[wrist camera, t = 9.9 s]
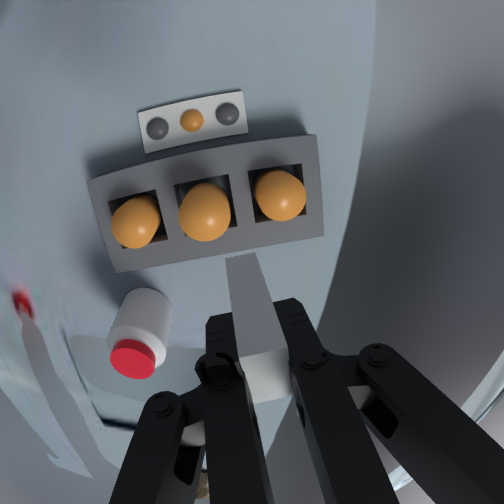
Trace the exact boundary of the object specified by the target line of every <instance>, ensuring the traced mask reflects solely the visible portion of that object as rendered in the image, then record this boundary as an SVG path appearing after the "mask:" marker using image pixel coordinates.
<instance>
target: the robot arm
mask: <svg viewBox="0 0 504 504" xmlns="http://www.w3.org/2000/svg"><path fill="white" fill-rule="evenodd" d="M225 260H226V269H227V277H228V285H229V292H230V300H231V307H232V312H230V313H225V314H220V315H215V316H210V318H209V320H208V322H207V323H206V325H205V327H206V354H204V355H203V356H201V357H200V358H199V360H198V361H197V362H196V365H195V371H196V373H197V375H198V377H199V379H200V381H201V384H200V385H199V386H198V387H197V388H195V389H193V390H191V391H189V392H187V393H184V394H182V395H180V396H178V395H176V394H175V393H173V392H170V391H163V392H159V393H157V394H154V395H153V396H151V397H150V398H149V399H148V400H147V402H146V404H145V406H144V408H143V411H142V413H141V416H140V418H139V421H138V423H137V426H136V429H135V431H134V434H133V437H132V439H131V442H130V445H129V447H128V450H127V453H126V456H125V458H124V461H123V464H122V467H121V469H120V473H119V475H118V478H117V481H116V484H115V487H114V490H113V493H112V496H111V499H110V502H109V504H194V501H195V496H196V492H197V487H198V482H199V478H200V473H201V469H202V464H203V459H204V455H205V450H206V464H207V476H208V487H209V498H210V504H275V503H274V498H273V494H272V489H271V485H270V480H269V476H268V471H267V466H266V461H265V456H264V451H263V446H262V442H261V437H260V432H259V427H258V421H257V416H256V414H255V411H254V406H253V404H255V403H260V402H265V401H270V400H274V399H279V398H283V397H287V396H291V395H293V393H294V397H295V400H296V409H297V417H299V418H300V421H301V425H302V428H303V431H304V435H305V438H306V441H307V444H308V448H309V451H310V454H311V457H312V461H313V464H314V467H315V470H316V473H317V477H318V480H319V484H320V487H321V490H322V493H323V497H324V500H325V503H326V504H399V501H398V499H397V497H396V494H395V492H394V489H393V487H392V484H391V482H390V480H389V477H388V475H387V473H386V471H385V468H384V466H383V464H382V461H381V459H380V457H379V455H378V453H377V450H376V448H375V446H374V444H373V441H372V439H371V437H370V435H369V432H368V431H367V428H366V426H365V424H366V425H367V426H368V428H369V429H370V430H371V431H372V432H373V434H374V435H375V436H376V437H377V438H378V439H379V441H381V443H382V444H383V445H384V446H385V447H386V449H387V450H388V451H389V452H390V453H391V454H392V455H393V457H394V458H395V459H396V460H397V461H398V462H399V463H400V465H401V466H402V467H403V468H404V469H405V470H406V471H407V473H408V474H409V475H410V476H411V477H412V478H413V479H414V480H415V481H416V483H417V484H418V485H419V486H420V487H421V488H422V489H423V490H424V491H425V493H426V494H427V495H428V496H429V497H430V498H431V499H432V500H433V501H434V502H435V504H504V449H503V448H502V447H501V446H500V445H499V444H498V443H497V442H495V440H493V439H492V438H491V437H490V436H489V435H488V434H487V433H486V432H485V431H484V430H483V429H482V428H481V427H480V426H478V425H477V424H476V423H475V422H474V421H473V420H472V419H471V418H470V417H469V416H468V415H467V414H466V413H464V412H463V411H462V410H461V409H460V408H459V407H458V406H457V405H456V404H455V403H453V402H452V401H451V400H450V399H449V398H448V397H447V396H446V395H445V394H443V393H442V392H441V391H440V390H439V389H438V388H437V387H436V386H435V385H434V384H432V383H431V382H430V381H429V380H428V379H427V378H426V377H424V376H423V375H422V374H421V373H420V372H419V371H418V370H417V369H416V368H414V367H413V366H412V365H411V364H410V363H409V362H408V361H407V360H405V359H404V358H403V357H402V356H401V355H400V354H398V353H397V352H396V351H395V350H394V349H393V348H391V347H389V346H388V345H384V344H381V343H378V344H371V345H368V346H366V347H365V348H363V349H362V350H361V351H360V353H359V355H351V356H339V355H335V354H332V353H330V352H329V351H328V350H326V349H324V347H323V346H322V344H321V342H320V340H319V338H318V336H317V334H316V332H315V330H314V327H313V325H312V323H311V321H310V320H309V317H308V315H307V314H306V311H305V309H304V307H303V305H302V303H300V302H299V301H298V300H296V299H295V298H290V299H285V300H281V301H277V302H272V300H271V297H270V294H269V291H268V288H267V285H266V282H265V279H264V276H263V274H262V271H261V268H260V265H259V262H258V259H257V256H256V253H255V252H254V253H249V254H245V255H240V256H235V257H230V258H226V259H225ZM364 423H365V424H364Z"/></svg>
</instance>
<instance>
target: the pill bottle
mask: <svg viewBox="0 0 504 504" xmlns="http://www.w3.org/2000/svg"><path fill="white" fill-rule="evenodd" d="M172 319H173V308H172V305H171V303H170V301H169V300H168V299H167V298H166V297H165V296H164V295H163V294H162V293H160V292H158V291H156V290H154V289H150V288H136V289H134V290H132V291H130V292H129V293H128V294H127V295H126V296H125V298H124V300H123V302H122V304H121V306H120V309H119V311H118V313H117V315H116V318H115V320H114V322H113V325H112V327H111V329H110V332H109V334H108V338H107V345H108V348H109V350H110V352H111V355H110V361H111V364H112V366H113V367H114V368H115V369H116V370H117V371H118V372H119V373H121V374H122V375H125V376H127V377H130V378H134V379H144V378H148V377H150V376H151V375H152V374H153V372H154V369H155V368H156V367H158V366H160V365H161V364H162V363H163V362H164V360H165V358H166V353H167V347H168V341H169V335H170V330H171V324H172Z"/></svg>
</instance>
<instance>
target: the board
mask: <svg viewBox="0 0 504 504" xmlns="http://www.w3.org/2000/svg"><path fill="white" fill-rule="evenodd" d="M291 164H295V167H296V176H297V179H298V180H299V181H300V182H301V183H302V184H303V186H304V188H305V191H306V202H305V205H304V207H303V209H302V211H301V212H300V213H299V214H298V215H297V216H296V217H294V218H292V219H290V220H287V221H276V220H273V219H270V218H269V217H267V216H266V215H265V214H264V213H263V214H257V215H254V212H253V205H252V198H251V192H250V185H249V179H248V172H247V171H249V170H256V169H262V168H269V167H276V166H283V165H291ZM226 174H228V175H229V181H230V187H231V193H232V199H233V204H234V210H235V216H236V218H235V219H230V223H229V226H228V228H227V230H226V231H225V232H224V233H223V234H222V235H221V236H220V237H218V238H217V239H214V240H211V241H198V240H195V239H192V238H190V237H189V236H188V235H186V234H185V233H184V231H183V230H182V228H181V226H180V224H179V220H178V213H179V208H180V206H181V204H182V200H181V196H180V191H179V186H178V184H180V183H185V182H189V181H194V180H199V179H204V178H209V177H215V176H220V175H226ZM87 184H88V188H89V192H90V196H91V199H92V203H93V207H94V210H95V213H96V217H97V220H98V223H99V227H100V230H101V233H102V236H103V239H104V242H105V245H106V248H107V251H108V253H109V256H110V259H111V262H112V264H113V267H114V270H115V272H116V274H117V273H123V272H128V271H133V270H139V269H144V268H150V267H155V266H160V265H166V264H171V263H177V262H182V261H188V260H193V259H199V258H204V257H209V256H215V255H220V254H226V253H231V252H237V251H242V250H248V249H253V248H259V247H264V246H270V245H275V244H281V243H287V242H292V241H298V240H303V239H309V238H314V237H320V236H324V223H323V205H322V191H321V178H320V166H319V156H318V146H317V137H316V135H312V134H304V135H294V136H284V137H275V138H267V139H260V140H253V141H246V142H239V143H233V144H227V145H221V146H216V147H210V148H205V149H200V150H195V151H190V152H186V153H181V154H177V155H172V156H168V157H164V158H160V159H156V160H152V161H148V162H144V163H140V164H136V165H133V166H129V167H126V168H122V169H119V170H115V171H112V172H109V173H106V174H102V175H99V176H96V177H94V178H92V179H90V180H88V181H87ZM154 189H156V192H157V197H158V201H159V205H160V209H161V213H162V217H163V221H164V225H165V228H166V232H162V233H158V234H154V236H153V237H152V239H151V241H150V242H149V243H148V244H147V245H145V246H144V247H141V248H137V249H133V248H128V247H125V246H123V245H122V244H120V243H119V242H118V241H117V240H116V238H115V237H114V235H113V233H112V229H111V220H112V217H113V214H114V213H115V211H116V210H117V209H118V208H119V204H118V200H117V199H118V198H122V197H126V196H129V195H133V194H137V193H141V192H145V191H149V190H154Z"/></svg>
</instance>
